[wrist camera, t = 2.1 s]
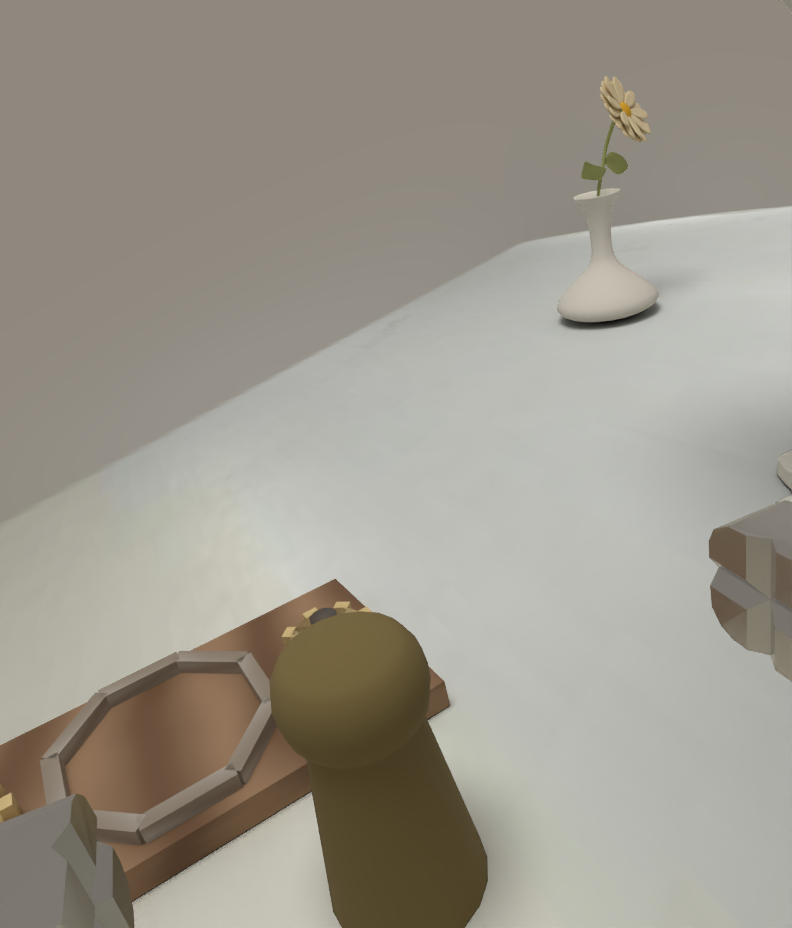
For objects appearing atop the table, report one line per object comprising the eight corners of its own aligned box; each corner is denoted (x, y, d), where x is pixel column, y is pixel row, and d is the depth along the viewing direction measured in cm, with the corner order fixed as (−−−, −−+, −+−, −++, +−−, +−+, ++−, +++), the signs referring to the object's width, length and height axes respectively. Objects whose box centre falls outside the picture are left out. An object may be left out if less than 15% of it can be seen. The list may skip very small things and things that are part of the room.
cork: (300, 878, 28) (210, 656, 24) (416, 779, 31) (356, 566, 27) (397, 997, 24) (310, 750, 19) (522, 866, 27) (472, 628, 22)
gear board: (341, 599, 45) (326, 548, 43) (450, 705, 35) (435, 644, 33) (-90, 819, 35) (-129, 764, 34) (-111, 1050, 25) (-166, 987, 24)
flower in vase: (610, 336, 79) (587, 80, 68) (538, 325, 88) (508, 98, 78) (690, 300, 84) (680, 58, 74) (615, 294, 93) (596, 78, 83)
